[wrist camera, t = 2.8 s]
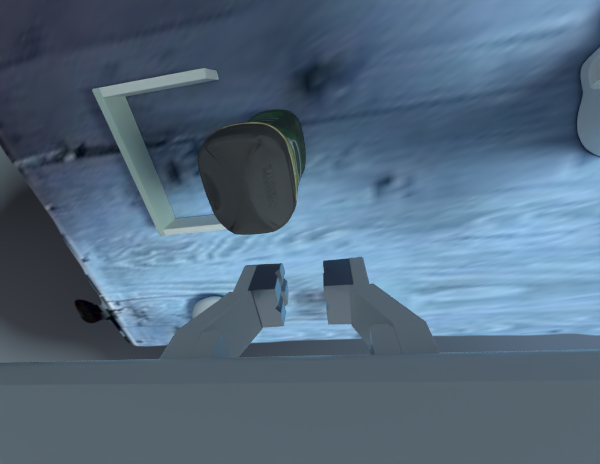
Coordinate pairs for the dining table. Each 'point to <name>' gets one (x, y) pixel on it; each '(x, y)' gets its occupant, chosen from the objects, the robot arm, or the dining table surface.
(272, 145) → the coffee jar
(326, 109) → the dining table surface
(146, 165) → the report bay
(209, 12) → the dining table surface
